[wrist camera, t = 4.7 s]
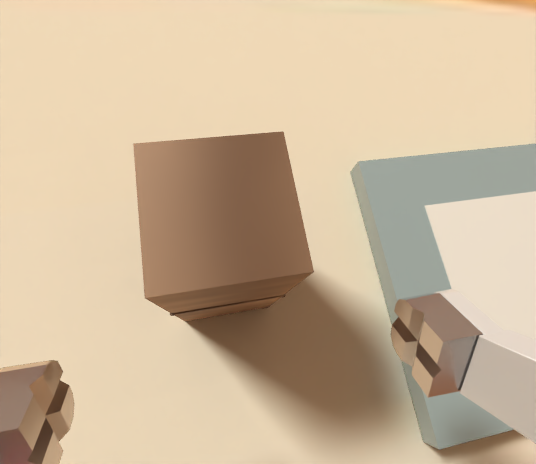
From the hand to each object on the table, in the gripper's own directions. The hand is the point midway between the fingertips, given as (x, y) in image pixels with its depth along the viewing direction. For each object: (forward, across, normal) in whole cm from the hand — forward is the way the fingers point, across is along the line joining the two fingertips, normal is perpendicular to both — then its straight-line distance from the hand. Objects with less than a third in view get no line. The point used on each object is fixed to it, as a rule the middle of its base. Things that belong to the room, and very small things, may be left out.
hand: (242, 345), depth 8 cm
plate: (+7, -15, +5) cm, 17 cm away
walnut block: (+8, 0, +3) cm, 9 cm away
